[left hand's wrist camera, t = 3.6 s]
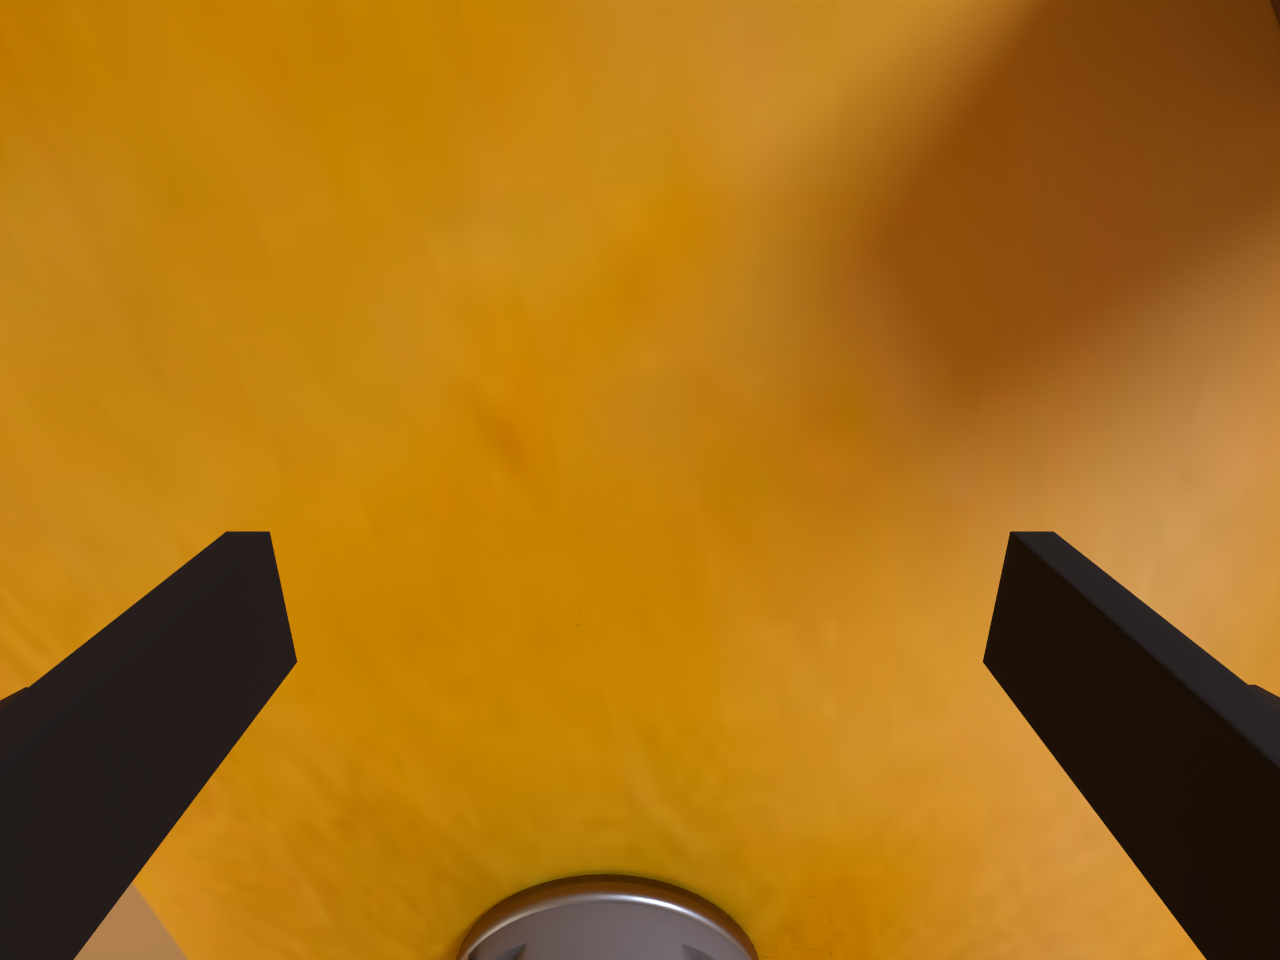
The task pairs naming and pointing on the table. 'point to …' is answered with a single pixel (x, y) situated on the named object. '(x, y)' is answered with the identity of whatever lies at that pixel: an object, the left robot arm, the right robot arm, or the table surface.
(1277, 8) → the chest
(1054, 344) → the table surface
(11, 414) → the table surface
